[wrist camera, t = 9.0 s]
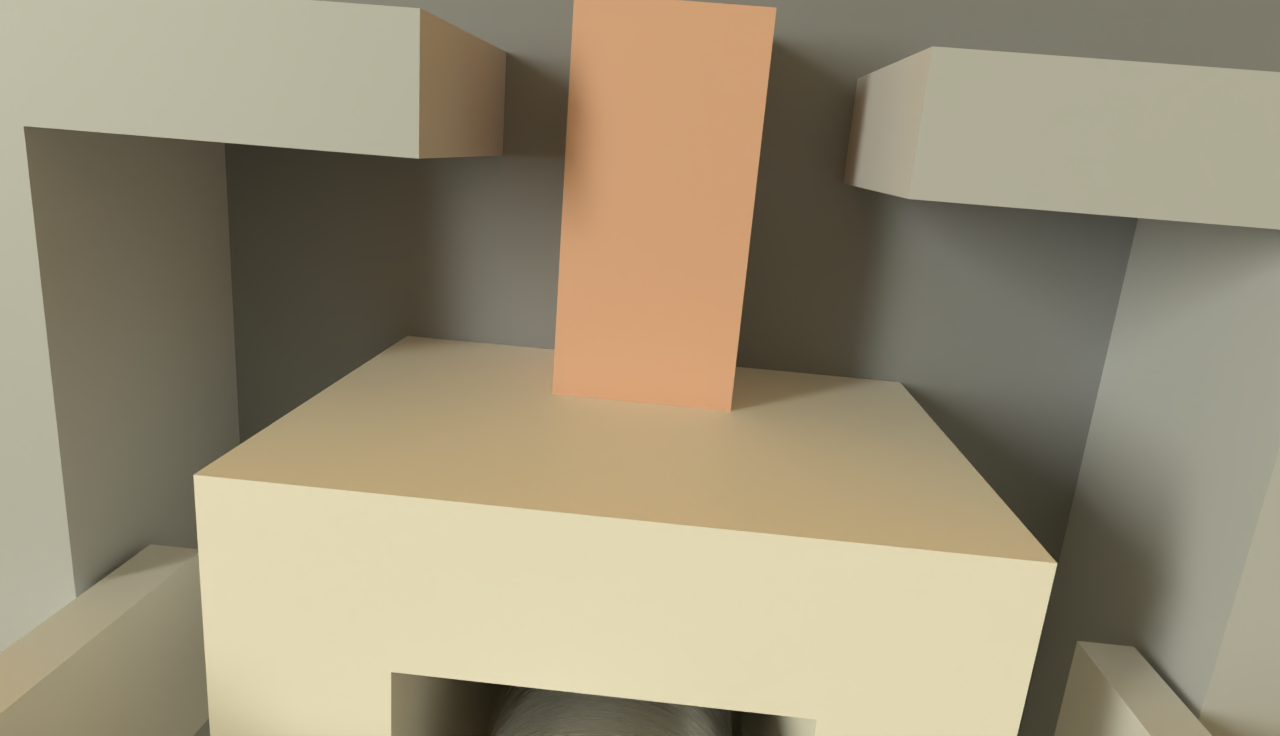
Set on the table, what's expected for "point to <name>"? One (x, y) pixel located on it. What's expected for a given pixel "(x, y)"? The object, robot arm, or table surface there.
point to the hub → (620, 478)
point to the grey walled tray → (775, 278)
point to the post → (602, 716)
